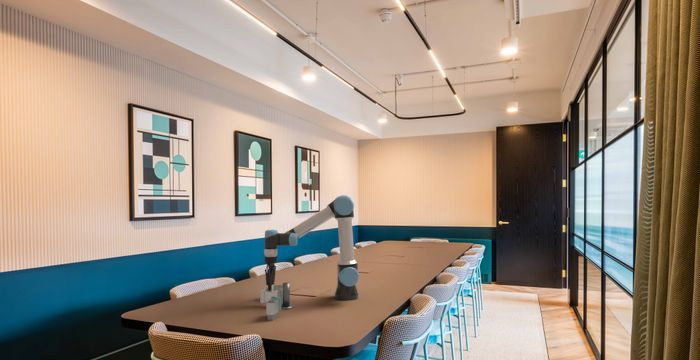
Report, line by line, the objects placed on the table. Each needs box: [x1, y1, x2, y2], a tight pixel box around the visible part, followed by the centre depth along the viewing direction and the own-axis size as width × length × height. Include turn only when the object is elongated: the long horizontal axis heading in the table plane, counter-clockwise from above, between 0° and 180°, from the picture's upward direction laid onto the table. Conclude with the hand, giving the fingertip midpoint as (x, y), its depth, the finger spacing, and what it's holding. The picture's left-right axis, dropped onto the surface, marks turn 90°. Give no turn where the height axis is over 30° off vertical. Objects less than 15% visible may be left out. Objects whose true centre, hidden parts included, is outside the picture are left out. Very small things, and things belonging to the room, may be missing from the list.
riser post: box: [281, 281, 294, 310], centre depth 234 cm, size 8×8×14 cm
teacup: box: [262, 284, 283, 291], centre depth 253 cm, size 14×11×8 cm
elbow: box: [259, 288, 283, 306], centre depth 235 cm, size 12×5×9 cm, turn 81°
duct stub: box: [265, 297, 282, 322], centre depth 213 cm, size 10×5×10 cm, turn 170°
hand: (270, 296), depth 240 cm, fingers closed
